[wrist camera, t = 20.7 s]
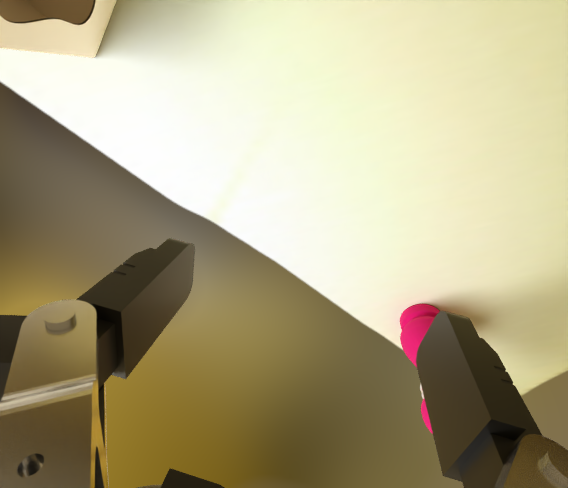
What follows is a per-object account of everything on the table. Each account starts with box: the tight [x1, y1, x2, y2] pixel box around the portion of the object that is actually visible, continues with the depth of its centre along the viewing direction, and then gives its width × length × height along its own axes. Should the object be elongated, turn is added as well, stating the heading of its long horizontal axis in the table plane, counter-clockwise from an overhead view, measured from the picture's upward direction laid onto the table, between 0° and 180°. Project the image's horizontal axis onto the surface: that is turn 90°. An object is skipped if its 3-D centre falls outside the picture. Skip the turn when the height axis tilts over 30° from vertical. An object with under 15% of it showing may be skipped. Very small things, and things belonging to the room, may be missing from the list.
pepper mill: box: [400, 304, 440, 434], centre depth 40 cm, size 7×7×20 cm
